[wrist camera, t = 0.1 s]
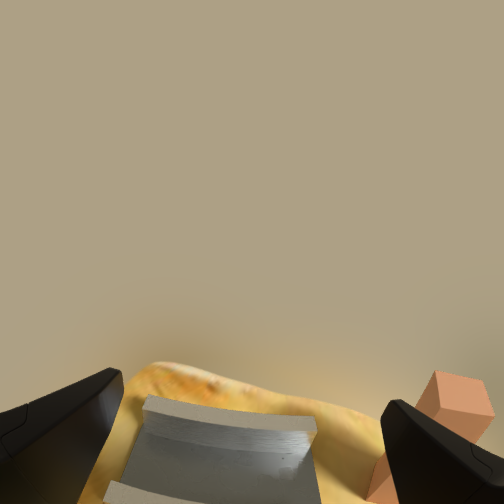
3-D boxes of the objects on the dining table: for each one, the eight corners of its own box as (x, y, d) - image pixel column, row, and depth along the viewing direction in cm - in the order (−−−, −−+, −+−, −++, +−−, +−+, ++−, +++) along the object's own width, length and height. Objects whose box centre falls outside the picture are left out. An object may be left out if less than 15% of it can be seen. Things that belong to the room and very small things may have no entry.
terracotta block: (411, 508, 13) (494, 416, 10) (365, 500, 15) (440, 407, 13) (416, 472, 18) (482, 380, 15) (375, 464, 20) (435, 370, 17)
